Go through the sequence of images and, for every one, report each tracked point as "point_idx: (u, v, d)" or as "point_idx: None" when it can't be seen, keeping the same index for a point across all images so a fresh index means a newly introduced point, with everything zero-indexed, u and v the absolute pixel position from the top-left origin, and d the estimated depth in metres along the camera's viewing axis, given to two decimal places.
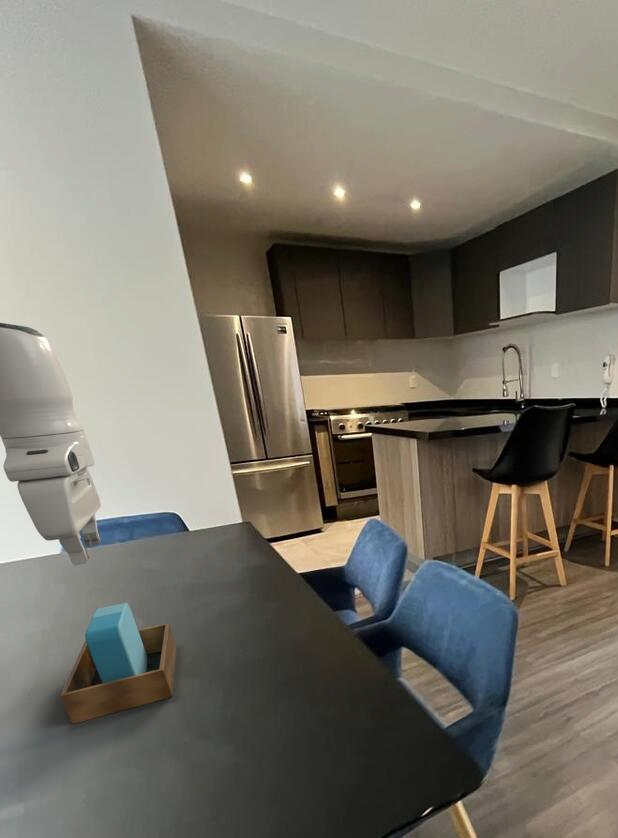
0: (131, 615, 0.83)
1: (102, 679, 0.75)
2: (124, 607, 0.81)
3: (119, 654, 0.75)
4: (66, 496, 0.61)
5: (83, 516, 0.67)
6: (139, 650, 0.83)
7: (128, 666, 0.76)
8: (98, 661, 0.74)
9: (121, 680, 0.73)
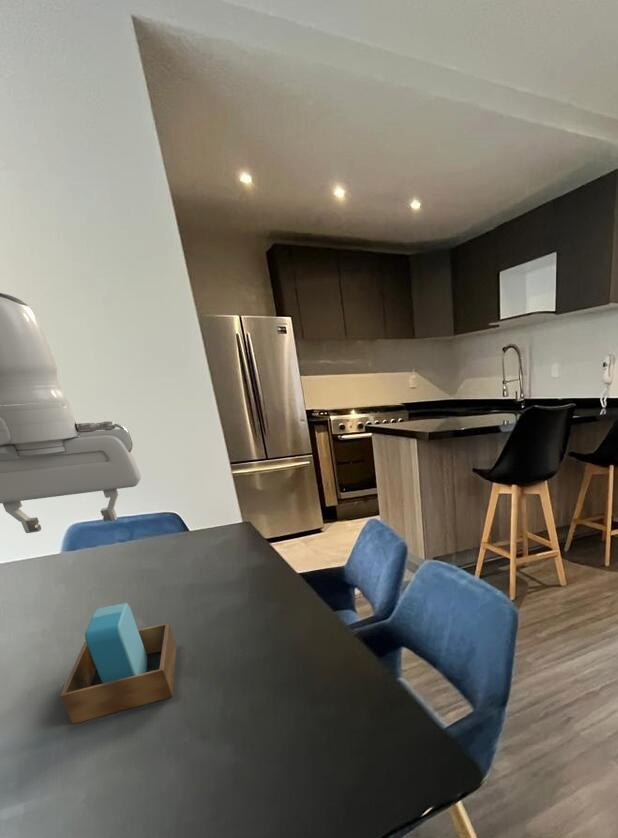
0: (131, 615, 0.83)
1: (102, 679, 0.75)
2: (124, 607, 0.81)
3: (119, 654, 0.75)
4: None
5: (23, 490, 0.66)
6: (139, 650, 0.83)
7: (128, 666, 0.76)
8: (98, 661, 0.74)
9: (121, 680, 0.73)
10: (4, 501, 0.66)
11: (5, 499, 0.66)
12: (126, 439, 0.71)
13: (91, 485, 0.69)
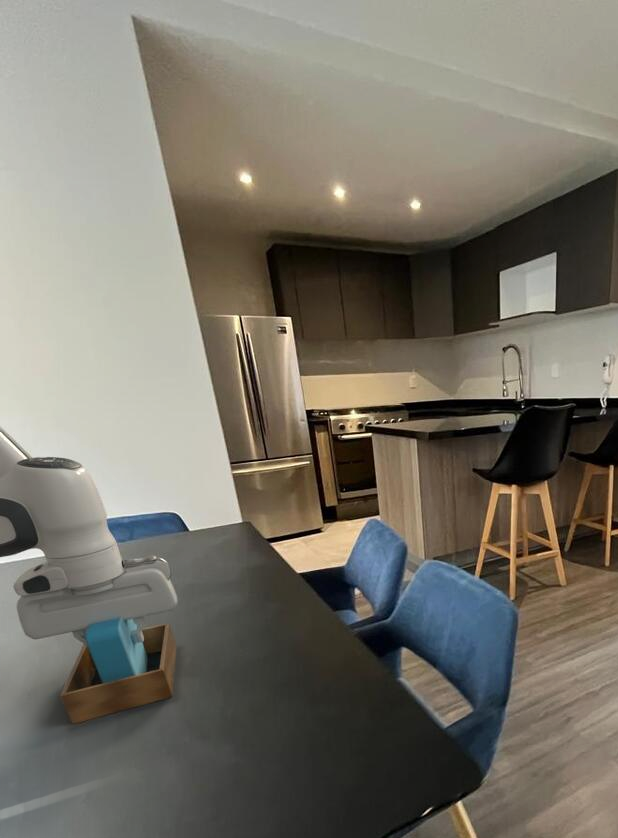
0: None
1: (102, 679, 0.75)
2: None
3: (119, 654, 0.75)
4: (17, 611, 0.70)
5: (76, 623, 0.74)
6: (139, 650, 0.83)
7: (128, 666, 0.76)
8: (98, 661, 0.74)
9: (121, 680, 0.73)
10: (59, 633, 0.74)
11: (60, 631, 0.74)
12: (166, 570, 0.79)
13: (135, 613, 0.78)
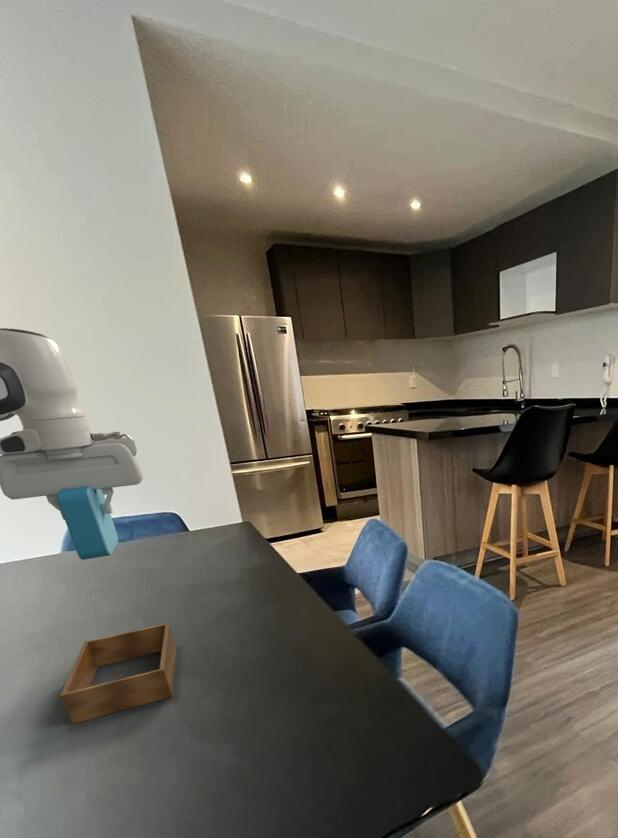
0: (102, 493, 0.92)
1: (72, 538, 0.84)
2: None
3: (88, 515, 0.83)
4: None
5: (49, 487, 0.83)
6: (109, 524, 0.92)
7: (96, 528, 0.85)
8: (69, 520, 0.83)
9: (121, 680, 0.73)
10: (34, 495, 0.83)
11: (35, 494, 0.83)
12: (131, 446, 0.88)
13: (103, 483, 0.86)
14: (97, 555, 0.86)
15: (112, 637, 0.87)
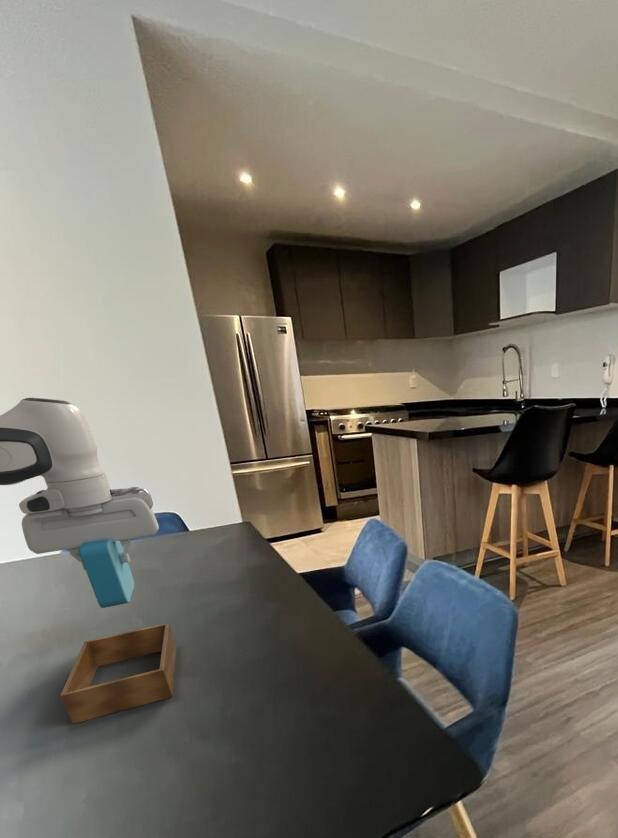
0: (119, 542, 0.97)
1: (94, 589, 0.89)
2: None
3: (108, 567, 0.88)
4: (22, 527, 0.84)
5: (71, 541, 0.88)
6: (126, 571, 0.97)
7: (115, 579, 0.90)
8: (90, 572, 0.88)
9: (121, 680, 0.73)
10: (57, 549, 0.88)
11: (58, 548, 0.88)
12: (148, 499, 0.92)
13: (122, 535, 0.91)
14: (116, 603, 0.91)
15: (112, 637, 0.87)
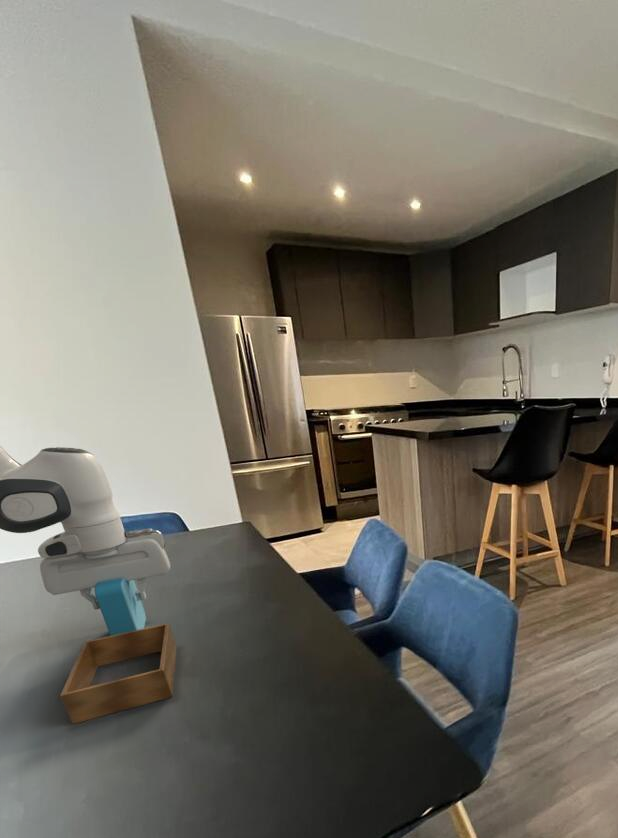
0: None
1: (108, 627, 0.92)
2: None
3: (122, 606, 0.91)
4: (40, 570, 0.87)
5: (87, 582, 0.91)
6: (138, 607, 1.00)
7: (129, 617, 0.93)
8: (105, 611, 0.91)
9: (121, 680, 0.73)
10: (74, 590, 0.91)
11: (75, 589, 0.91)
12: (160, 540, 0.96)
13: (135, 575, 0.94)
14: None
15: (112, 637, 0.87)
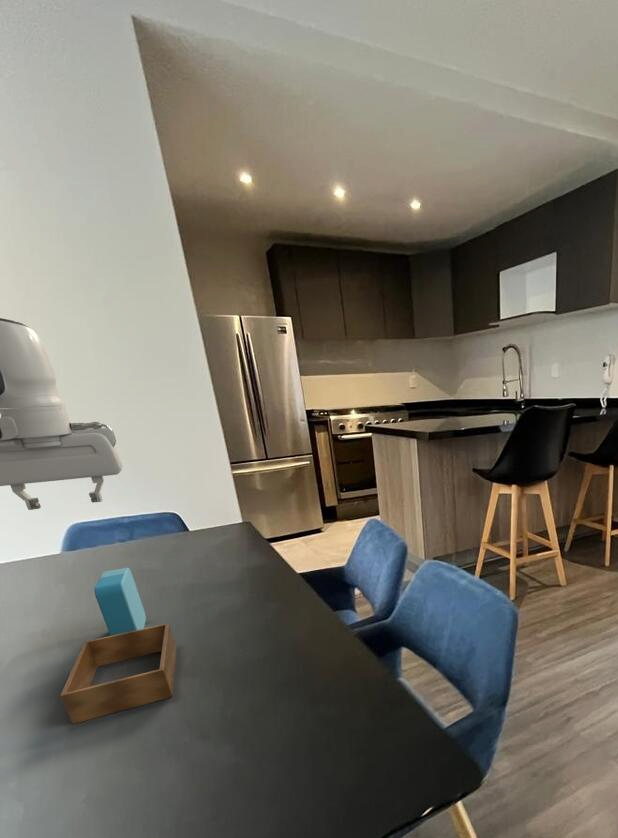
0: (132, 578, 1.00)
1: (108, 627, 0.92)
2: (126, 570, 0.97)
3: (122, 606, 0.91)
4: None
5: (26, 475, 0.84)
6: (138, 607, 1.00)
7: (129, 617, 0.93)
8: (105, 611, 0.91)
9: (121, 680, 0.73)
10: (12, 483, 0.83)
11: (12, 482, 0.83)
12: (110, 436, 0.88)
13: (81, 472, 0.87)
14: None
15: (112, 637, 0.87)
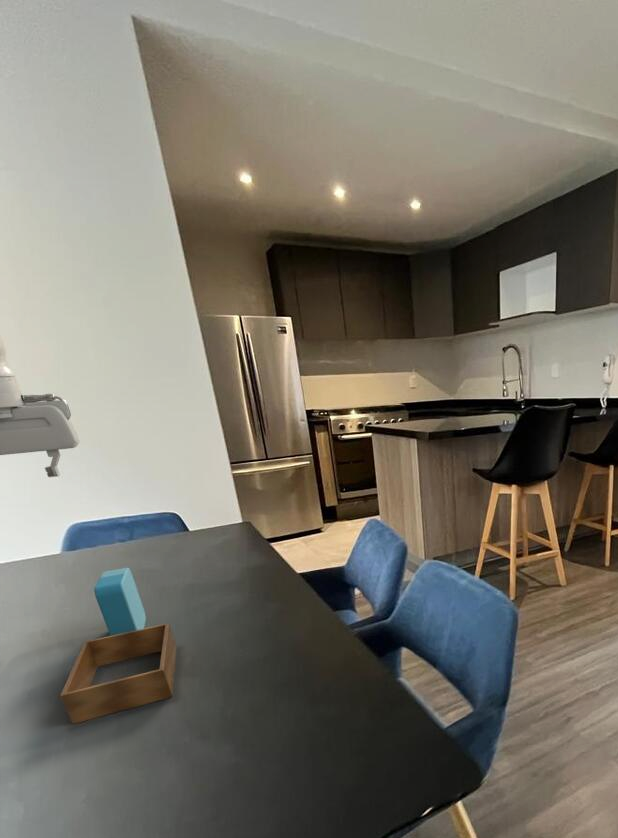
0: (132, 578, 1.00)
1: (108, 627, 0.92)
2: (126, 570, 0.97)
3: (122, 606, 0.91)
4: None
5: None
6: (138, 607, 1.00)
7: (129, 617, 0.93)
8: (105, 611, 0.91)
9: (121, 680, 0.73)
10: None
11: None
12: (65, 409, 0.87)
13: (35, 446, 0.86)
14: None
15: (112, 637, 0.87)
